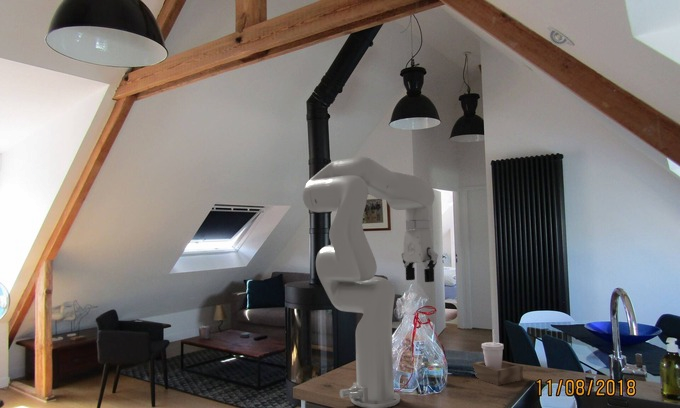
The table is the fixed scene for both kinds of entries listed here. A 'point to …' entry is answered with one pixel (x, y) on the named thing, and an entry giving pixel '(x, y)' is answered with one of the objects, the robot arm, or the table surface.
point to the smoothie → (493, 353)
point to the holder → (499, 372)
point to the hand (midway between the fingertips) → (419, 280)
